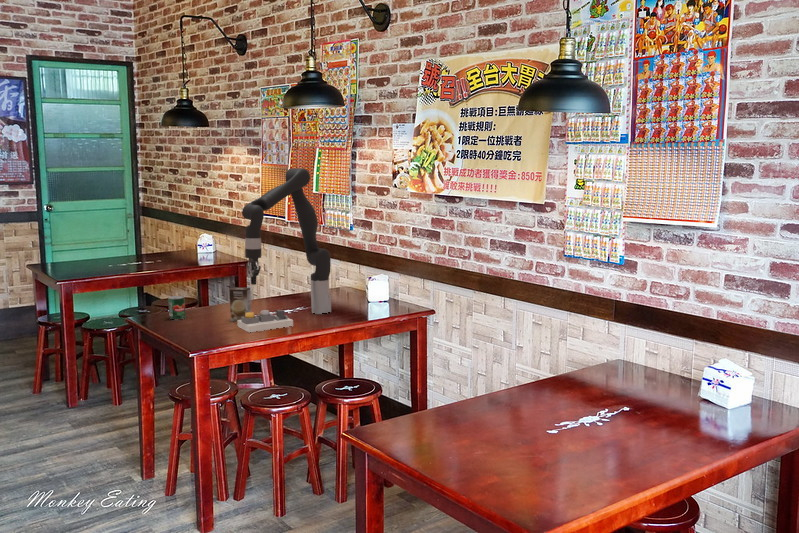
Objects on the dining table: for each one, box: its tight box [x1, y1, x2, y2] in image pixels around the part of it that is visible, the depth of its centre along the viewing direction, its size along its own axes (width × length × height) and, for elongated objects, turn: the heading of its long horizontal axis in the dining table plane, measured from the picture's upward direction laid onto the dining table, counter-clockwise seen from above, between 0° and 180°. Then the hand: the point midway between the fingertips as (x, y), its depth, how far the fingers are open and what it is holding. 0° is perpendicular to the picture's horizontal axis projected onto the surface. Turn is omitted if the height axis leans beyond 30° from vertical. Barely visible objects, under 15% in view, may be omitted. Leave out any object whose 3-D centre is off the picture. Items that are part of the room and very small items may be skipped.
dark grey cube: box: [275, 309, 286, 320], centre depth 354 cm, size 3×3×4 cm
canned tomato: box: [167, 295, 187, 321], centre depth 371 cm, size 8×8×11 cm
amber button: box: [245, 311, 255, 319], centre depth 348 cm, size 4×4×3 cm
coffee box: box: [229, 286, 252, 323], centre depth 365 cm, size 9×6×16 cm
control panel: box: [237, 312, 294, 334], centre depth 352 cm, size 22×15×6 cm
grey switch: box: [260, 309, 270, 317], centre depth 352 cm, size 4×4×3 cm
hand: (253, 284), depth 349 cm, fingers closed
